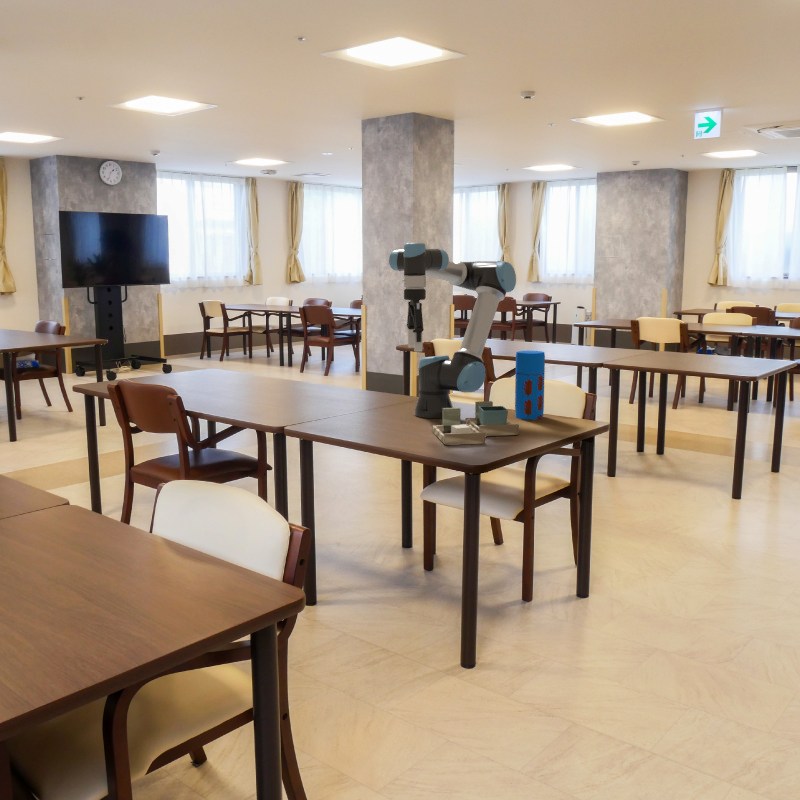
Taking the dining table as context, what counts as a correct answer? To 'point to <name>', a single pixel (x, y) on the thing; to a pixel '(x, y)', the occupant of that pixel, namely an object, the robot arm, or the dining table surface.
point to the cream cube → (460, 429)
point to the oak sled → (491, 429)
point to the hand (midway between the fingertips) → (415, 349)
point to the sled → (453, 418)
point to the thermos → (529, 384)
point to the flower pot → (493, 415)
